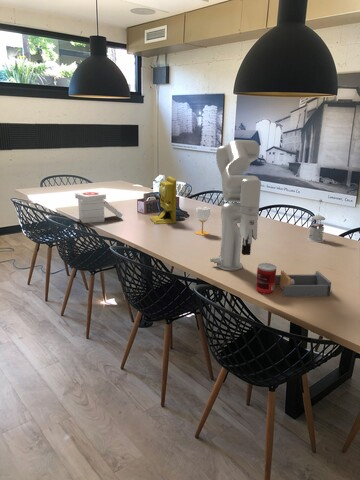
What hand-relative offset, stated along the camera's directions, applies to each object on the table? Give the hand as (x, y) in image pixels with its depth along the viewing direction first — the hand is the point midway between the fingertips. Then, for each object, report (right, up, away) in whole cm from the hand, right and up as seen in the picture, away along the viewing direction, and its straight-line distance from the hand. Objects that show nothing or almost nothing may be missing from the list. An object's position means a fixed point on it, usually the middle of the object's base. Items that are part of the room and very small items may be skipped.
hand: (245, 254), depth 159 cm
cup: (-13, +10, +87) cm, 89 cm away
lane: (+25, -16, +8) cm, 30 cm away
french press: (+56, +6, +80) cm, 98 cm away
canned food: (+9, -16, +6) cm, 19 cm away
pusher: (+19, -15, +7) cm, 25 cm away
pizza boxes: (-83, +20, +115) cm, 144 cm away
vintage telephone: (-40, +19, +115) cm, 123 cm away
